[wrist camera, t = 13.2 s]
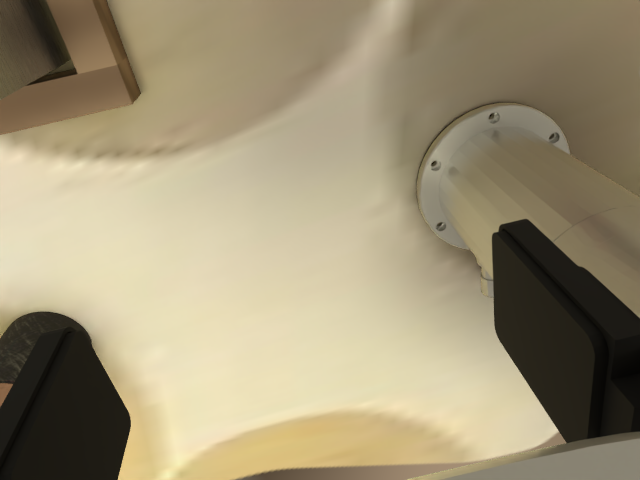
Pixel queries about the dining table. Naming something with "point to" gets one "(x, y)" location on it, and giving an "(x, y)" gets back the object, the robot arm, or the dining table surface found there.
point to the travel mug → (26, 343)
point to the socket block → (76, 71)
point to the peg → (28, 43)
